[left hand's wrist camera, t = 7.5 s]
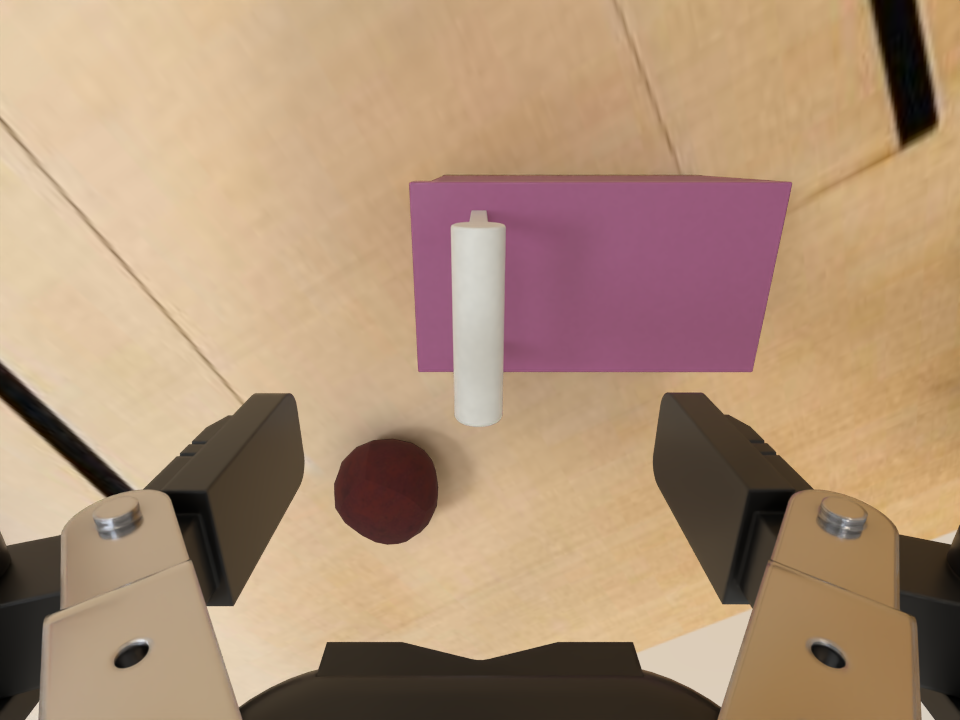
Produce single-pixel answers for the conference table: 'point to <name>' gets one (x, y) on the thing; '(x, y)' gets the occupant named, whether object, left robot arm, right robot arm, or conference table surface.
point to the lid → (589, 278)
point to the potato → (386, 490)
